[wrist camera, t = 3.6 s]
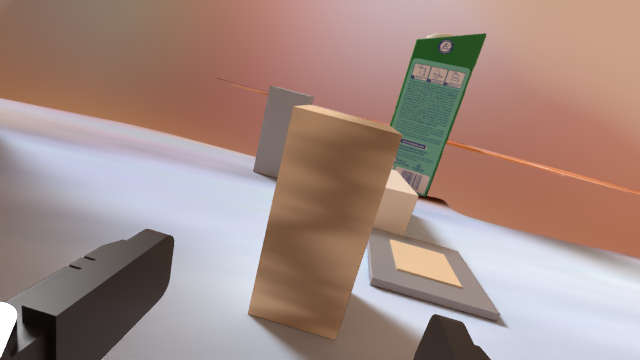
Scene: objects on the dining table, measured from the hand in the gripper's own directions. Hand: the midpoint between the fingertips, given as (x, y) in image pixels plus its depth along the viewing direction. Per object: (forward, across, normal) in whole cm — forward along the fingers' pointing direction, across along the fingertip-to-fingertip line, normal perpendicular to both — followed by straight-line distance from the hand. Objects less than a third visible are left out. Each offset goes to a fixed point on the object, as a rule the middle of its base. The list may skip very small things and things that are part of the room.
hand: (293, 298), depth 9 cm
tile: (+16, -9, +6) cm, 19 cm away
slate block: (+32, +8, +6) cm, 33 cm away
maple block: (+8, 0, +6) cm, 10 cm away
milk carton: (+46, -12, +6) cm, 48 cm away
